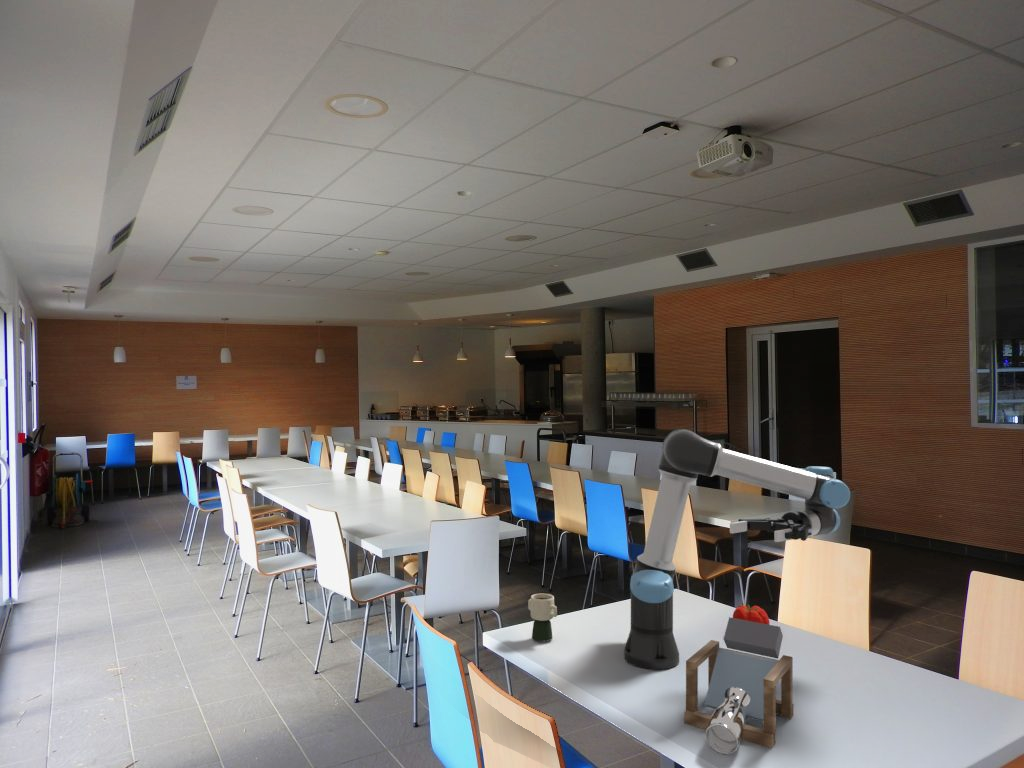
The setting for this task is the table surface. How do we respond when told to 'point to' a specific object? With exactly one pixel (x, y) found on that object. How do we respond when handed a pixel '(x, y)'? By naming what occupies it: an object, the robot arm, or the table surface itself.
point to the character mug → (542, 615)
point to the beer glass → (729, 721)
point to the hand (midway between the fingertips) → (752, 532)
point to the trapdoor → (745, 663)
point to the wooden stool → (771, 704)
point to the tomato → (751, 614)
